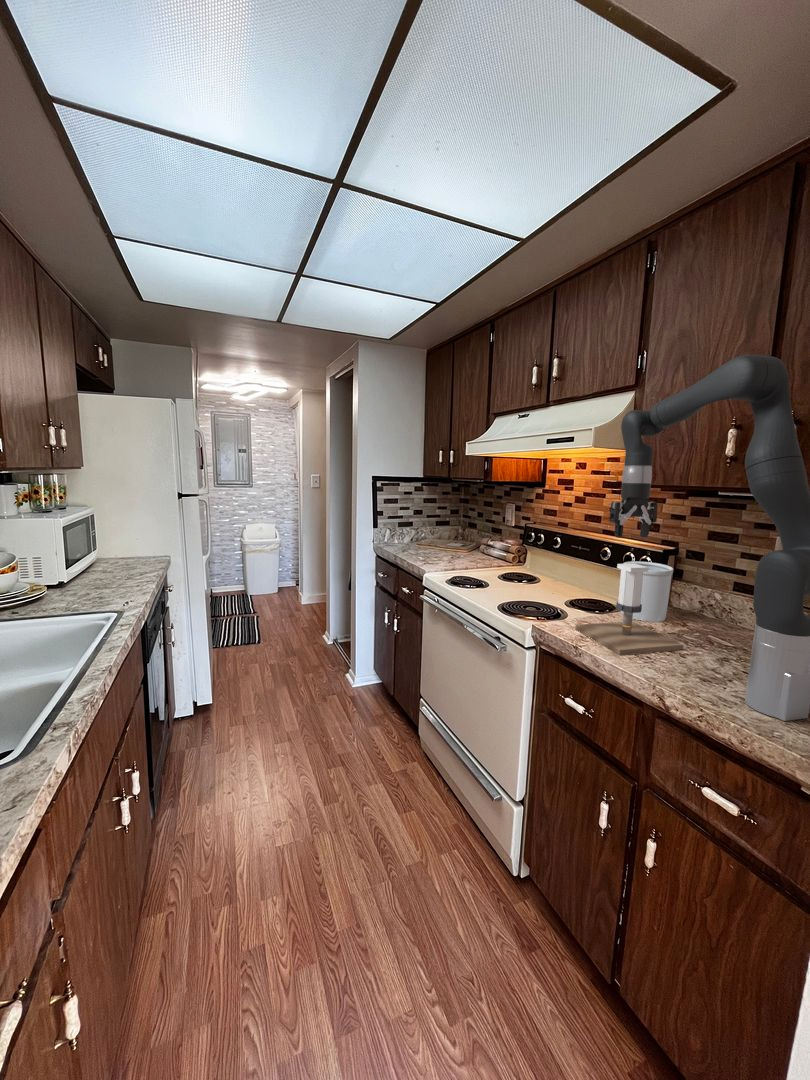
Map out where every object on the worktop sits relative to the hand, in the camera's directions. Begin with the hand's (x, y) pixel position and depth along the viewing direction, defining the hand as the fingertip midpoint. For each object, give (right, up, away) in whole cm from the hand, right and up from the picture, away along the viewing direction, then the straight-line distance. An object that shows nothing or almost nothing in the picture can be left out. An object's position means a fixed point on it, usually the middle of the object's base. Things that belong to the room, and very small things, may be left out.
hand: (631, 537), depth 131 cm
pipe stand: (-2, -30, -1) cm, 30 cm away
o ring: (-2, -21, -2) cm, 21 cm away
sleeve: (-2, -19, -3) cm, 19 cm away
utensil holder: (+14, -27, +21) cm, 37 cm away
